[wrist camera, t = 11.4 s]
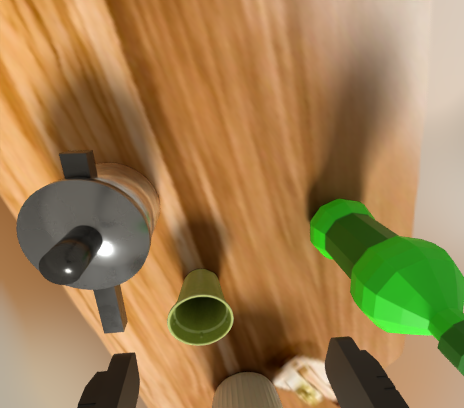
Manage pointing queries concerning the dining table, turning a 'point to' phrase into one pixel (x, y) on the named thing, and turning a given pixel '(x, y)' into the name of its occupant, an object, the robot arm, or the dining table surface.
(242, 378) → the canister
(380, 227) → the plastic bottle
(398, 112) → the dining table surface
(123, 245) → the lid
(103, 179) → the cooker pot
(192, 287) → the plant pot
